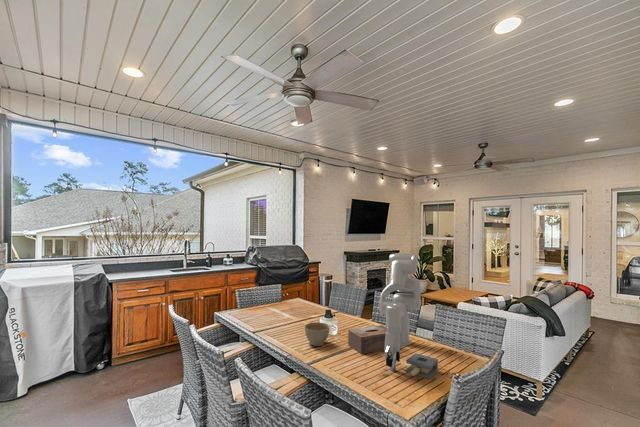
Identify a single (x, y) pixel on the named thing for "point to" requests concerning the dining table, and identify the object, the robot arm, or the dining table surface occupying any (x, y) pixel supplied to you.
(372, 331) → the tissue box cover
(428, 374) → the clevis bracket
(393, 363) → the steel pin
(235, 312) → the dining table surface
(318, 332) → the planter bowl
